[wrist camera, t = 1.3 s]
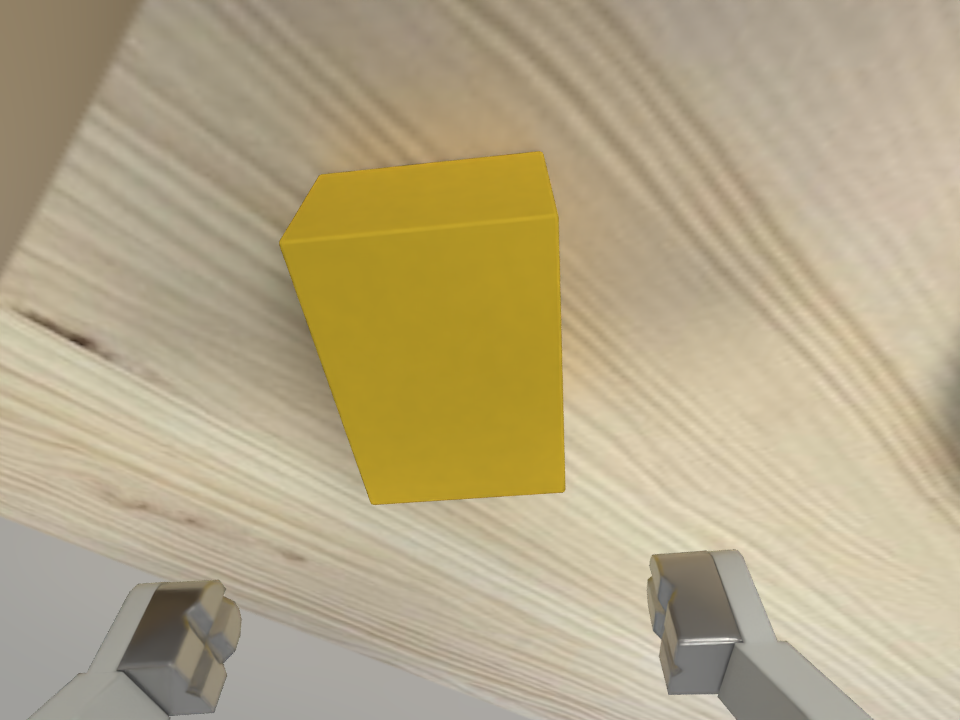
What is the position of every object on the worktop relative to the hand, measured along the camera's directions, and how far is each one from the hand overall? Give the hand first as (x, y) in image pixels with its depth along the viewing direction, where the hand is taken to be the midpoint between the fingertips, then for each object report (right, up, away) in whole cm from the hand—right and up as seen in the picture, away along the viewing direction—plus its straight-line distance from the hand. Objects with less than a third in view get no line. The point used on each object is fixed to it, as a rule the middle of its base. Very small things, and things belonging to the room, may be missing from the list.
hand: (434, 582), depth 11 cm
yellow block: (0, +6, +7) cm, 9 cm away
